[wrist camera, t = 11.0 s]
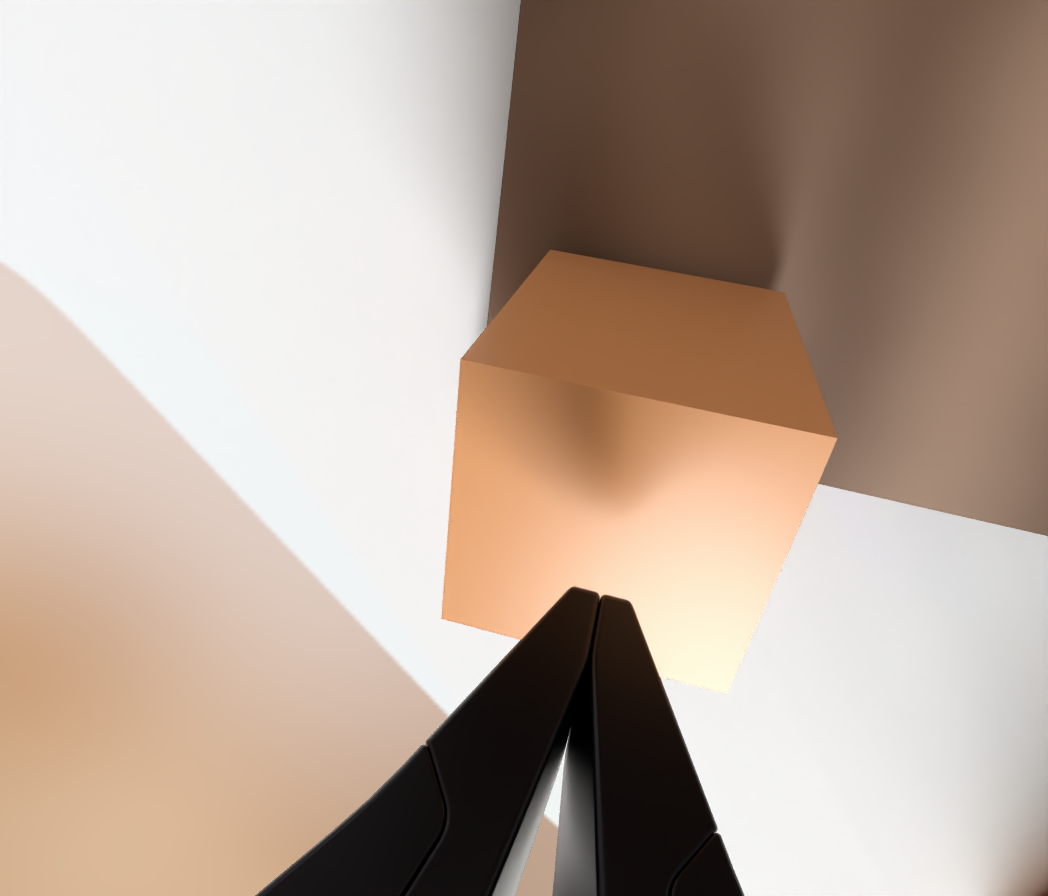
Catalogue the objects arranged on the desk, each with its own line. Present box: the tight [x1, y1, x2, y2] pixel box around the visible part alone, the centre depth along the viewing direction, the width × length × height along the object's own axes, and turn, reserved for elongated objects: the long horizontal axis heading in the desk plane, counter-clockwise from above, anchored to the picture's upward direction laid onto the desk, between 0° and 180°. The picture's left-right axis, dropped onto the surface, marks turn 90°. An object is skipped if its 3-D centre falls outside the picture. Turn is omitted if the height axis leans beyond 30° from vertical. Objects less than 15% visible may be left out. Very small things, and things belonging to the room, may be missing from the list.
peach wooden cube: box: [441, 250, 837, 694], centre depth 13 cm, size 5×5×7 cm
